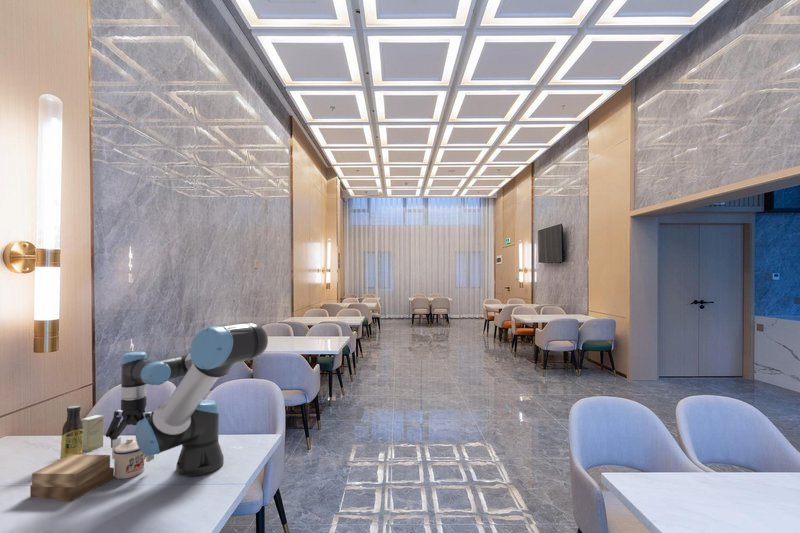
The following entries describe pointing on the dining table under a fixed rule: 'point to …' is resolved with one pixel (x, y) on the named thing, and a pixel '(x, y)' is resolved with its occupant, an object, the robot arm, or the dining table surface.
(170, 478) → the dining table surface
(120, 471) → the teacup with lid
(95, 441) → the skincare box
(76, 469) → the tower top block
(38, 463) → the dining table surface
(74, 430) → the sauce bottle
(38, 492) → the tower base block
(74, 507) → the dining table surface
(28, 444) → the dining table surface
